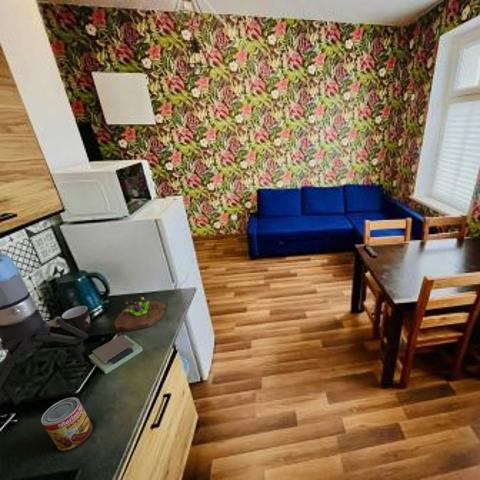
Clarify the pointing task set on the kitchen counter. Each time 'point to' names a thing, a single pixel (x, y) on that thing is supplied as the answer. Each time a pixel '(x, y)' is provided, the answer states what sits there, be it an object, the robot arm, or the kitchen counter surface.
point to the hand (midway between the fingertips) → (51, 380)
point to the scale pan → (112, 348)
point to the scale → (116, 358)
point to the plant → (139, 315)
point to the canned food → (67, 423)
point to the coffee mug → (78, 318)
